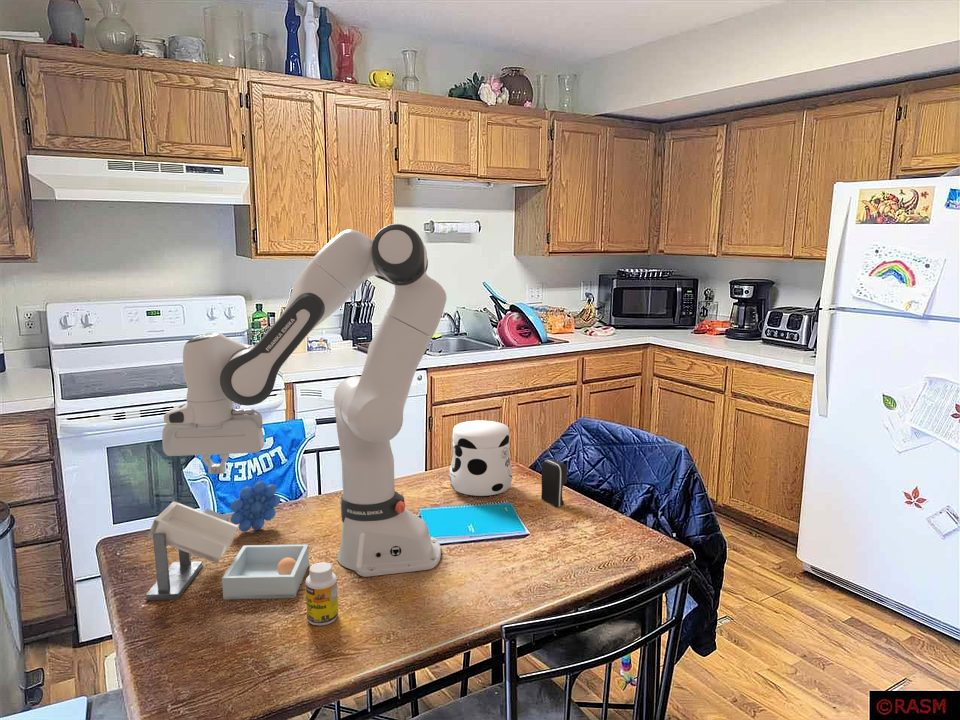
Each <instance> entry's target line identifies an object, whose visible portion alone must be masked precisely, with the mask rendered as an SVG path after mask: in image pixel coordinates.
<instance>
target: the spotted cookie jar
mask: <svg viewBox="0 0 960 720" xmlns="http://www.w3.org/2000/svg"><path fill="white" fill-rule="evenodd" d="M510 434H511V433H510V427H508V426H507V424H504V423H502V422H500V421H493V420H479V419H478V420H469V421H464V422H458V423H457V424H456V425H454V427H453V429H452V459H451V462H450V467H449V472H448V473H449V475H448V477H449V483H450V486H451V488H452V490H453V491H454V492H456V493H458V495H461V496H465V497H469V498H476V499H477V498H478V499H479V498H482V499H483V498H484V499H485V498H493V497H497V496H500V495H503V494H504V493H505V492H507V491H508V490H509V489H510V488H511V485H512V481H513V467H512V465H511V459H510V437H511V436H510Z"/></svg>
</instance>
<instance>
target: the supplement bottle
mask: <svg viewBox="0 0 960 720" xmlns="http://www.w3.org/2000/svg"><path fill="white" fill-rule="evenodd" d="M305 578H306V579H305V601H306V619H307V621H308V622H309V624H312V625H313V626H326V625H329V624H331V623H333V622H335V620H336V619H337V618H338V617H339V616H338V615H339V608H338V607H339V604H338V578H337V575H336V574H335V572H333V566H332V564H331V563H329V562H325V561H322V562H317V563H313V564H312V565H311V566H310V567H309V575H308V576H307V577H305Z"/></svg>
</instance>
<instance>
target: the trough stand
mask: <svg viewBox="0 0 960 720" xmlns="http://www.w3.org/2000/svg"><path fill="white" fill-rule="evenodd" d="M152 542H153V549H154V552H153V553H154V562H155V572H156V573H155V574H156V582H155V583H154V584H153V585H152V586H151V588H150V589H149V590H148V591H147V593H146V594H145V601H174V600H175V601H177V600H179V599H180V598H181V597H182V595H183V593H184V592H185V591H186V590H187V589H188V587H189V585H191V583H192V581H194V579H195V578H196V577H197V575H198V573H199V572H200V571H201V570H202V569H203V566H204V565H203V561H192V558H191V557H192V554H190V553H188V552H185V551H182V550H180V549H178V556H179V559H178V560H179V561H173V562H172V563H171V564H170V565H169V559H168V548H167V547H168V545H166V534H165V533H155V534H154V535H153V539H152Z"/></svg>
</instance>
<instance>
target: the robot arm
mask: <svg viewBox="0 0 960 720" xmlns="http://www.w3.org/2000/svg"><path fill="white" fill-rule="evenodd" d="M428 260H429V259H428V253H427V248H426V246H425V244H424V242H423V240H422V238H421V236H420V235H419V234H418V232H417V231H416V230H415V229H413V228H411V227H410V226H408V225H405V224H400V223H393V224H388V225H386V226H384V227H383V228H381V229H380V230H379V231H377V233H376V234H375V236H374V237H373V238H370V237H368V236H367V235H366V234H365V233H362V232H361V231H358V230H355V229H345V230H342V231H341V232H340V233H338V234H337V235H335V237H333V238H332V239H330V241H328V243H326V244H325V245H324V246H323V247H322V248H321V249H320V250H319V251H318V252H317V253H316V254H315V255H314V256H313V258H312V259H310V261H309V262H308V263H307V265H306V266H305V267H304V269H303V270H302V271H301V273H300V274H299V276H298V278H297V280H296V281H295V283H294V285H293V287H292V290H291V293H290V296H289V299H288V301H287V304H286V306H285V308H284V310H283V312H281V315H280V316H279V317H278V319H277V320H276V321H275V323H274V324H272V326H271V327H270V328H269V329H268V331H267V332H266V333H265V334H264V335H263V336H262V338H261V339H260V340H259V341H258V343H257V344H256V345H252V344H247V343H243V342H240V341H236V340H234V339H231V338H230V337H227V336H225V335H224V334H223V333H222V332H217V331H216V332H207V333H202V334H200V335H197V336H193V337H192V338H190V339H189V340H187V342H185V344H184V346H183V350H182V366H183V369H182V371H183V377H184V381H185V384H186V387H187V393H186V403H184V404H183V403H182V404H180V405H177V406H176V407H174V408H172V409H170V410H169V411H167V412H166V413H165V414H164V415H163V420H164V423H165V425H164V426H163V428H162V439H161V443H162V451H163V452H164V454H165V455H166V456H168V457H172V456H173V457H178V456H179V457H180V456H181V457H182V456H201V460H202V462H203V463H204V465H206V467H207V469H208V474H209V475H216V474H217V475H218V474H221V475H222V474H225V473H226V463H227V461H228V459H229V457H230V455H232V454H234V455H236V454H258V453H259V452H260V451H261V450H262V449H263V448H264V446H265V437H264V432H263V429H262V428H263V424H264V423H263V416H262V414H261V413H260V412H259V411H257V410H255V409H254V408H253V409H252V408H248V409H242V408H241V409H234V404H237V405H240V406H255V405H258V404H261V403H263V402H264V401H265V400H267V398H269V396H270V395H271V394H272V392H273V390H274V387H275V383H276V378H277V376H278V373H279V371H280V369H281V368H282V366H283V365H284V364H285V363H286V361H287V360H288V358H289V357H290V356H291V355H292V354H293V353H294V351H296V349H297V348H298V346H299V345H300V344H301V342H302V341H304V339H305V338H306V337H307V336H308V335H309V333H311V332H312V331H313V330H314V329H315V328H317V326H319V325H320V324H321V323H322V322H324V321H325V320H326V319H327V318H329V317H330V316H332V314H333V313H335V312H336V311H337V310H338V309H340V308H341V307H342V306H343V305H345V303H346V302H347V301H348V299H350V298H351V297H352V296H353V294H354V293H355V292H356V291H357V290H358V288H359V287H360V286H361V285H362V284H363V283H364V282H365V281H366V280H367V279H369V278H370V277H372V276H374V277H376V278H377V279H380V280H383V281H384V282H387V283H389V284H391V285H393V286H394V295H393V297H392V298H393V299H392V300H391V303H390V304H389V307H388V309H387V310H386V312H385V314H384V316H383V318H382V320H381V321H380V324H379V325H378V327H377V330H376V331H375V333H374V336H373V337H372V340H371V341H370V343H369V345H368V348H367V355H366V360H365V362H364V365H363V369H362V373H361V375H360V376H359V375H358V376H350V377H346V378H345V379H343V380H342V381H341V382H339V384H338V385H337V386H336V389H335V391H334V394H333V395H334V396H333V404H334V411H335V423H336V430H337V431H336V432H337V438H338V439H337V440H338V445H339V452H340V461H341V477H342V478H341V480H342V481H341V482H342V494H341V497H340V517H341V522H342V531H341V539H340V545H339V550H338V554H337V555H336V556H337V561H338V563H339V564H340V565H341V566H343V567H344V568H346V569H349V570H352V571H354V572H356V573H357V575H359V576H361V577H364V578H365V577H375V576H383V575H392V574H401V573H408V572H409V573H412V572H418V571H419V572H420V571H427V570H432V569H433V568H435V567H437V565H438V564H439V563H440V560H441V558H442V557H441V554H442V550H441V549H442V548H441V544H440V542H439V541H438V539H436V538H435V537H434V536H431V535H430V530H429V527H428V525H427V522H426V521H425V520H424V519H423V518H421V517H419V515H416V514H414V513H413V512H412V511H410V510H409V509H407V508H406V503H405V497H404V493H403V491H401V494H400V493H399V492H397V491H396V490H395V487H396V486H395V458H394V454H393V451H392V446H391V442H390V441H391V440H393V439H394V438H395V437H396V436H397V435H398V434H399V432H400V431H401V430H402V427H403V423H404V409H405V406H406V403H407V399H408V397H409V393H410V389H411V387H412V383H413V380H414V376H415V374H416V372H417V369H418V367H419V365H420V363H421V362H422V361H421V360H422V358H423V356H424V355H425V353H426V351H427V349H428V347H429V345H430V343H431V341H432V339H433V337H434V335H435V333H436V331H437V329H438V326H439V323H440V321H441V319H442V316H443V312H444V309H445V307H446V303H447V293H446V291H445V289H444V287H443V286H442V285H441V284H440V283H439V282H438V281H436V280H435V279H433V278H431V277H430V276H429V275H428V274H427V270H428V265H429V261H428ZM213 455H219V459H221V461H220V463H214V461H213V460H212V458H211V456H213Z"/></svg>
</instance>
